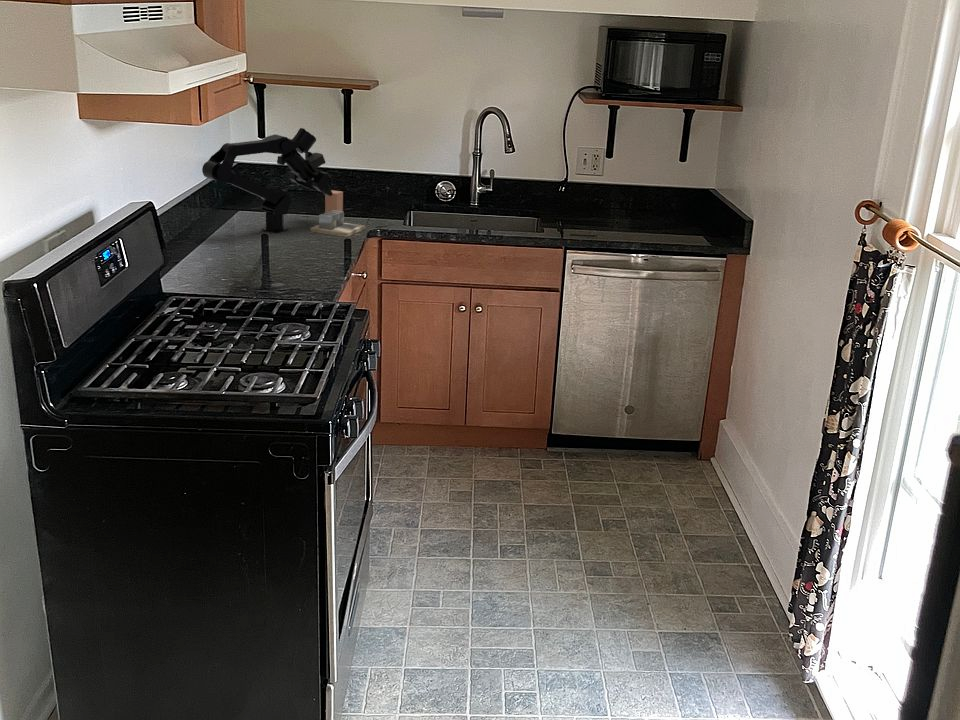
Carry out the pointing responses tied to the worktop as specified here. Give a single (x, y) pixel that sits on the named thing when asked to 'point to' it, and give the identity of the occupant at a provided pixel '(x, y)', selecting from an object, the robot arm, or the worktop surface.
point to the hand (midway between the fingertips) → (324, 192)
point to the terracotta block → (334, 201)
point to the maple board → (339, 230)
